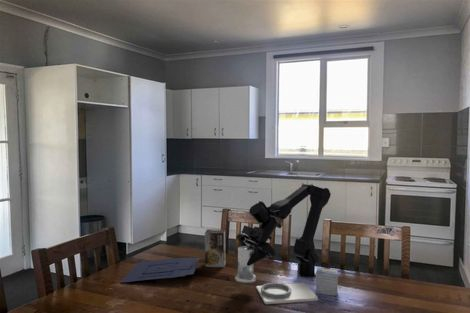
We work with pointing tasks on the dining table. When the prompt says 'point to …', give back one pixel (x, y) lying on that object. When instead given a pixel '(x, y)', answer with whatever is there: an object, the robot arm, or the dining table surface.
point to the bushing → (245, 265)
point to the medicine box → (327, 281)
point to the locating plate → (295, 296)
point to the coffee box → (214, 248)
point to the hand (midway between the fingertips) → (242, 262)
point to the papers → (162, 269)
